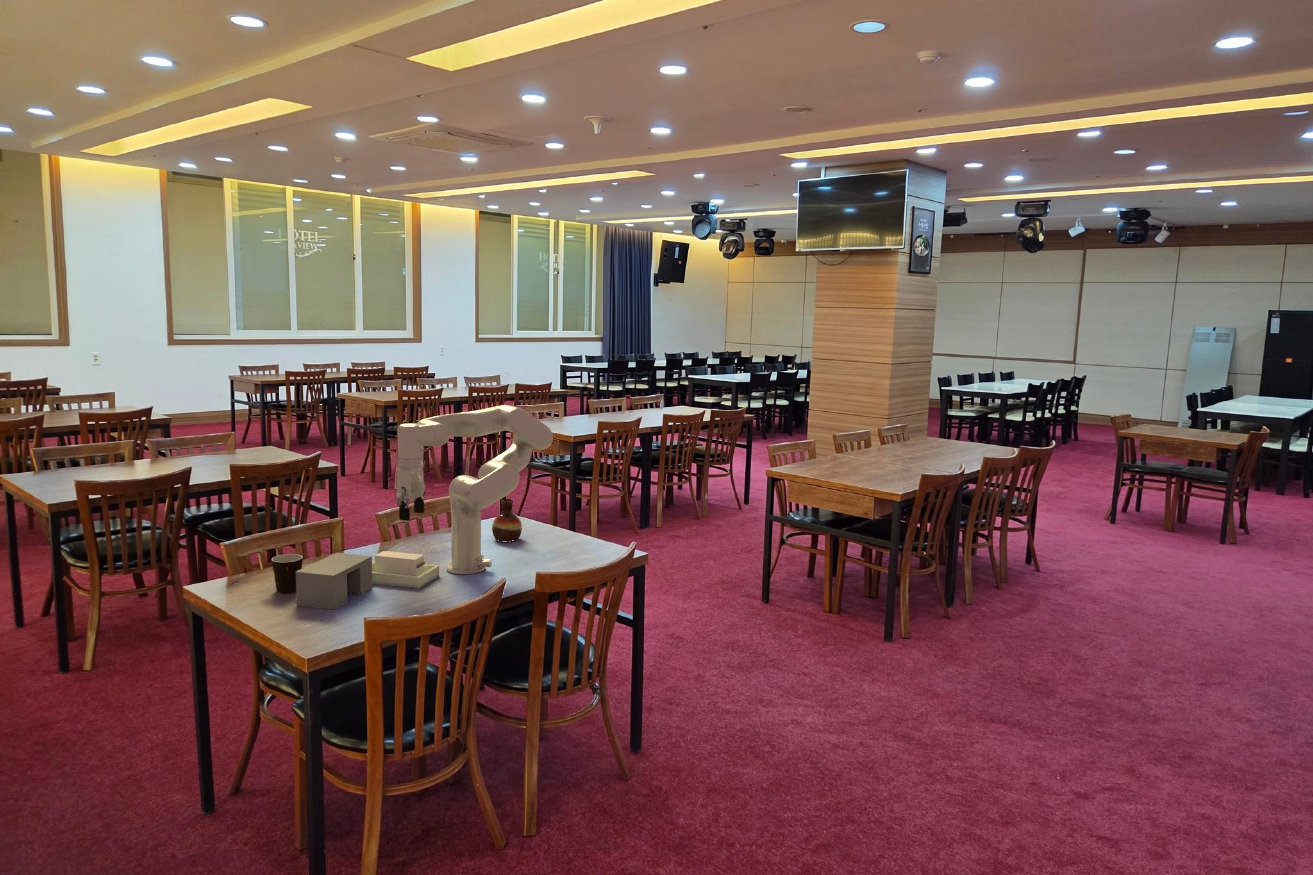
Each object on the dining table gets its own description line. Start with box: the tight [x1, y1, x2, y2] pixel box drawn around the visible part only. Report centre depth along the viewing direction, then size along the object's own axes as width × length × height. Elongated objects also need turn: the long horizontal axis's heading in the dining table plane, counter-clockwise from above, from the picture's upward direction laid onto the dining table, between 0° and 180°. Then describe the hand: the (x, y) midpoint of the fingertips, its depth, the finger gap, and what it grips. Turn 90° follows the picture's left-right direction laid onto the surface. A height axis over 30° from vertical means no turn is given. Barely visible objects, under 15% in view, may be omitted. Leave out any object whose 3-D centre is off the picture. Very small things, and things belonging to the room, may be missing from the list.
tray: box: [372, 560, 440, 590], centre depth 264 cm, size 22×13×4 cm, turn 78°
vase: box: [491, 498, 523, 542], centre depth 312 cm, size 11×11×15 cm
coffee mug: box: [271, 553, 304, 595], centre depth 248 cm, size 12×9×10 cm
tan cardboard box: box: [374, 550, 426, 576], centre depth 263 cm, size 15×6×7 cm, turn 78°
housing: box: [295, 552, 373, 610], centre depth 246 cm, size 12×20×10 cm, turn 168°
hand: (412, 516), depth 261 cm, fingers open, 9 cm apart
